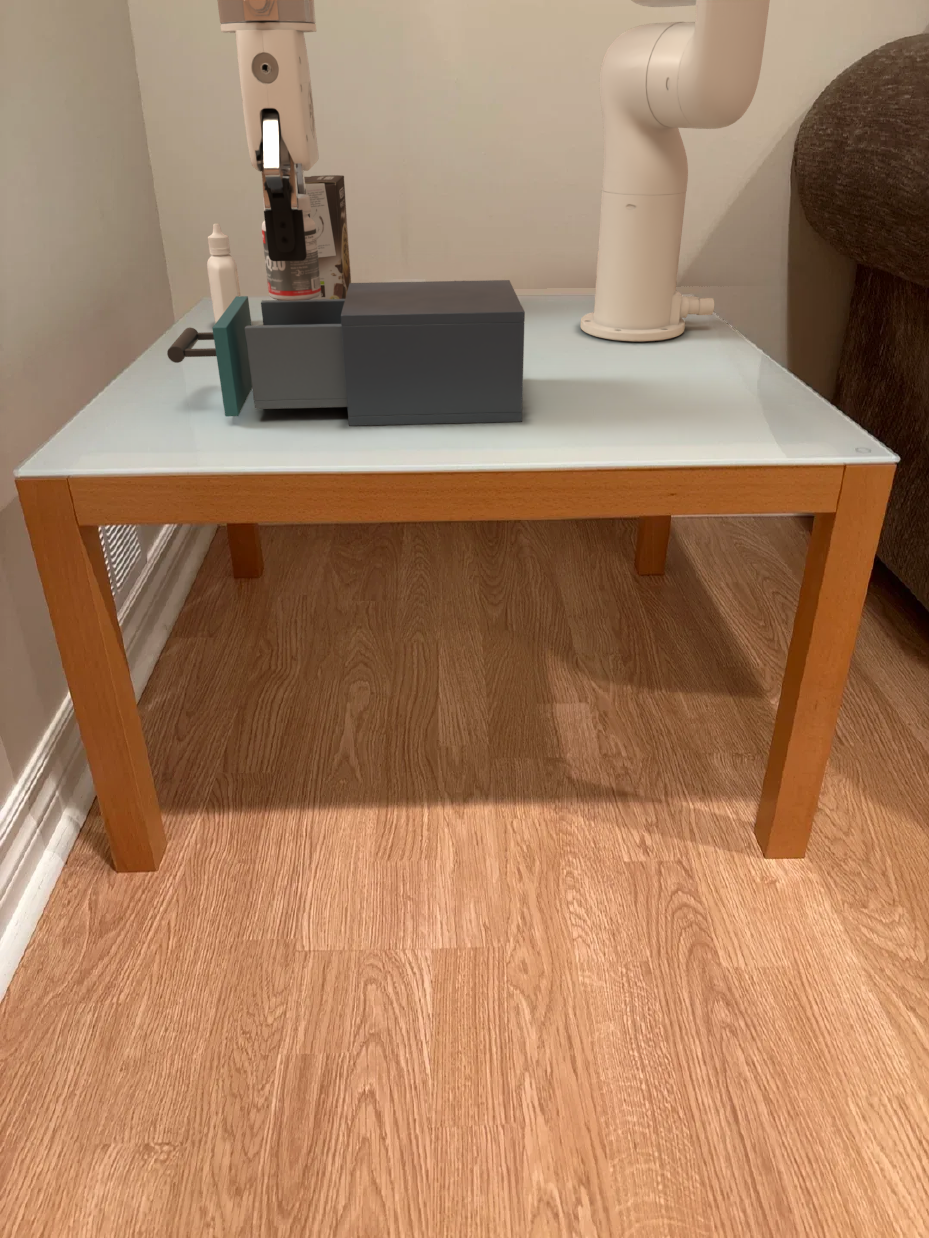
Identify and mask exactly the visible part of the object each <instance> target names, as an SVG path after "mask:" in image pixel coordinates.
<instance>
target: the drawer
mask: <svg viewBox="0 0 929 1238" xmlns="http://www.w3.org/2000/svg"><path fill="white" fill-rule="evenodd" d="M344 302H345V299H312V300H300V301H281V300H276V299H271V300H270V299H268V300H267V299H266V300H261V301H260V308H261V316H262V325H252V318H251V317H252V316H251V310H250V309H251V308H250V302H249V296H247V295H241V296H236V297H235V298H234V300H233V301H232V302H231V304H230V305H229V306H228V308H227V309H226V310H225V312H224V313H223V314H222V316H221V317H220V318H219V320H218V321H217V322H216V324H215V323H214V325H213V326H212V328H211V329H212V331H211V332H209V331H207V332H206V331H205V332H198V330H197V329H196V328H194V327H187V328H185V329H184V330H183V331H182V332H181V334H179V336H178V337H177V338H176V339H175V341H174V342H173V343H172V344H171V346H170V347H169V348H168V349H167V354H166V355H167V358H168V359H169V360H170V361H171V362H172V363H174V364H175V363H176V364H178V363H181V362H183V361H184V360H185V358H200V357H201V358H205V357H206V358H207V357H210V358H211V357H216V362H217V368H218V375H219V383H220V389H221V395H222V396H221V398H222V404H223V409H224V410H223V411H224V416H225V417H239V416H240V415H241V412H242V410H243V408H244V406H245V403H246V401H247V400H248V397H249V395H250V393H251V391H252V395H253V396H252V397H253V403H254V409H255V410H274V409H275V410H276V409H277V410H279V409H317V408H318V409H319V408H321V409H322V408H348V407H347V394H346V381H345V367H344V354H343V340H342V325H341V313H342V309H343V305H344ZM199 341H213V342H214V347H213V348H212V347H211V348H194V346H196V344H197V342H199Z"/></svg>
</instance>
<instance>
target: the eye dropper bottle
mask: <svg viewBox="0 0 929 1238" xmlns="http://www.w3.org/2000/svg"><path fill="white" fill-rule="evenodd" d="M207 243H208V251H209V255H210V256H209V258H208V259H207V263H206V268H207V276H208V282H209V288H210V296H211V297H210V298H211V305H212V311H213V318H214V325H215V324H216V322H217V321H218V320H219V318H220V317H221V316H222V314H223V313H224V312H225V310H226V309H227V308H228V306H229V305H230V304H231V302H232V301H233V300H234V298H235V297H236V296H242V295H241V289H240V279H239V272H238V266H237V263H236V260H235V259H234V257H233V256H232V255H231V247H230V239H229V236H228V235H227V234H225V233H223V231H222V228H221V225H220V223H213V225H212V233H211V234H210V235H208V236H207Z"/></svg>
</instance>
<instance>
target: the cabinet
mask: <svg viewBox="0 0 929 1238" xmlns="http://www.w3.org/2000/svg"><path fill="white" fill-rule="evenodd" d="M525 314H526V312H525V310H524V308H523V305H522V304H521V301H520V299H519V297H518V295H517V293H516V291H515V288H514V287H513V285H512V283H511V281H510V280H509V279H498V280H497V279H495V280H494V279H492V280H491V279H490V280H489V279H487V280H442V281H441V280H440V281H438V280H437V281H436V280H435V281H381V282H377V281H376V282H351V283H349V287H348V291H347V294H346V298H345V302H344V305H343V309H342V313H341V325H342V340H343V354H344V367H345V381H346V394H347V407H346V408H347V419H348V426H349V427H352V426H353V427H357V426H359V427H360V426H394V425H395V426H396V425H397V426H398V425H399V426H400V425H433V424H435V425H436V424H437V425H438V424H439V425H440V424H475V423H476V424H477V423H479V424H481V423H482V424H483V423H517V422H522V421H523V395H524V394H523V392H524V391H523V390H524V357H525V356H524V355H525V353H524V352H525V318H526V317H525V316H526V315H525Z"/></svg>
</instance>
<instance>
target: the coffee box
mask: <svg viewBox="0 0 929 1238" xmlns="http://www.w3.org/2000/svg"><path fill="white" fill-rule="evenodd" d="M304 178H305V187H306V195H309V197H310V206H311V210H310V218H311V219H312V220H313V221H314V222H315V225H316V236H317V249H318V261H319V273H320V285H321V294H320V295H319V296H318V297H316V298H313V299H345V298H346V294H347V291H348V287H349V283H352V275H351V260H350V248H349V231H348V219H347V215H348V214H347V204H346V202H347V201H346V188H345V176H344V175H338V174H337V175H335V174H334V175H333V174H331V175H330V174H329V175H311V176H304ZM309 300H312V299H309Z"/></svg>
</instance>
